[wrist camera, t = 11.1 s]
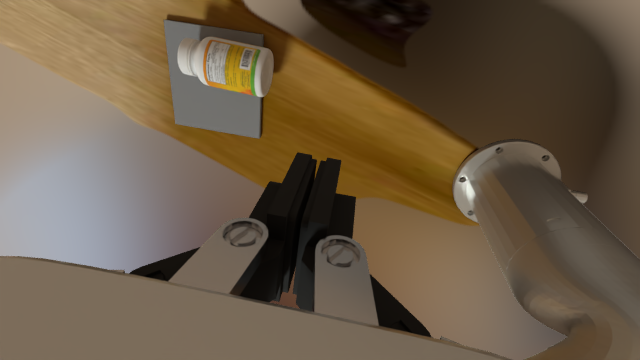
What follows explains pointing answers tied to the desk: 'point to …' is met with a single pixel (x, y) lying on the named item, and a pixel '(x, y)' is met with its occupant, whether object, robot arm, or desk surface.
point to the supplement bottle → (228, 64)
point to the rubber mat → (206, 101)
